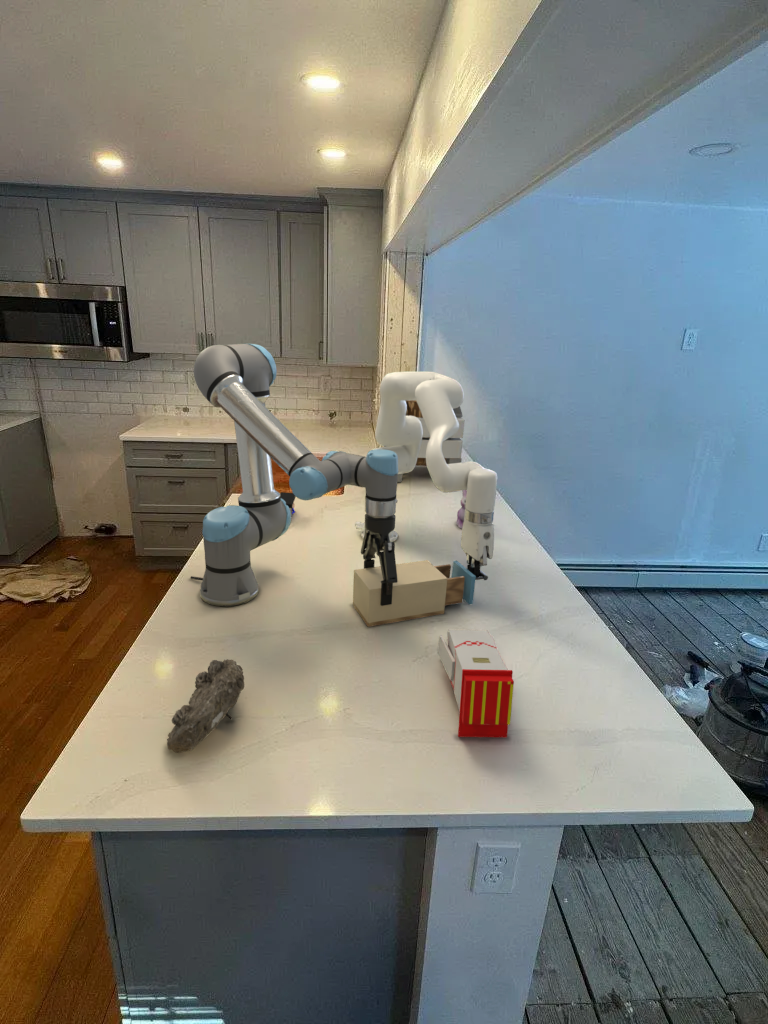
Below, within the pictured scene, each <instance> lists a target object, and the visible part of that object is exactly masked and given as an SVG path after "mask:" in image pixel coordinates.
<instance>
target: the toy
mask: <svg viewBox="0 0 768 1024" xmlns="http://www.w3.org/2000/svg"><path fill="white" fill-rule="evenodd" d="M446 640H447V643H446V641H445V639H444V636H443V635H442V634H439V637H438V646H437V656H438V657H439V659H440V661H441V663H442V666H443V668H444V670H445V672H446V674H447V677H448V679H449V681H450V684H451V687H452V690H453V693H454V697H455V701H456V705H457V708H458V711H459V714H458V715H459V716H458V730H457V731H458V732H457V737H458V738H508V731H509V726H510V725H511V717H512V707H513V697H514V696H513V695H514V684H515V680H514V679H513V673H514V671H513V670H512V669H508V667H507V665H506V662H505V661H504V659H503V658H502V655H501V653H500V651H499V649H498V647H497V643H496V639H495V637H494V635H493V634H491V632H490V631H489V629H467V628H466V629H465V628H463V629H461V628H460V629H459V628H448V630H447V639H446Z"/></svg>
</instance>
